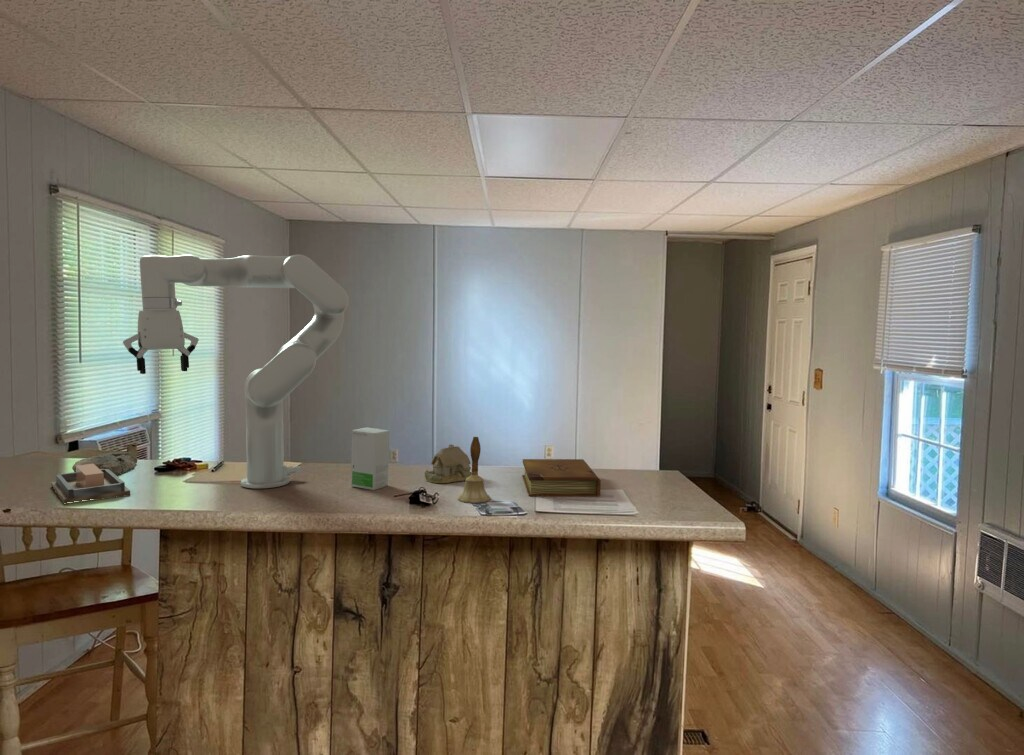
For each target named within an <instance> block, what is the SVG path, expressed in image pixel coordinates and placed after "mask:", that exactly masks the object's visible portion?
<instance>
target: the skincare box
mask: <svg viewBox="0 0 1024 755" xmlns="http://www.w3.org/2000/svg"><path fill="white" fill-rule="evenodd" d="M351 431H352V432H351V459H350V460H351V462H350V463H351V466H350V467H351V468H350V487H354V488H360V489H365V490H371V491H376V490H379V489H382V488H385V487H388V485H389V462H390V461H389V458H390V457H389V456H390V430H387V429H381V428H373V427H367V426H366V427H361V428H357V429H352V430H351Z"/></svg>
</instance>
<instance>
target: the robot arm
mask: <svg viewBox="0 0 1024 755" xmlns="http://www.w3.org/2000/svg"><path fill="white" fill-rule="evenodd" d="M139 272H140V274H139V275H140V287H141V290H140V291H141V299H142V300H141V302H142V310H139V311H138V316H137V333H136V334H134V335H132V336H130V337H128V338H126V339H124V340H123V341H122V344H123V346H124V347H125V349H126V350H127V351H128V353H130V354H131V355H132V356H133V357H135V359H136V369H137V371H138V372H139V374H142V375H144V374H146V373H147V371H146V369H147V368H146V359H145V357H144V355H145V354H146V353H147V352H148V351H160V350H162V351H163V350H178V352H180V353H181V355H180V357H179V358H180V371H182V372H188V369H190V361H189V360H190V359H189V357H190V355H191V353H192V352H194V350H195V349H196V347H197V344H198V342H199V338H198V337H196V336H194V335H191V334H189V333H186V332H185V330H184V326H183V322H182V321H183V320H182V316H181V313H180V310H178V307H180V306H182V305H183V301H182V300H179V299H177V297H176V286H175V285H176V284H183V285H185V286H189V287H225V288H226V287H232V288H233V287H234V288H235V287H236V288H248V289H249V288H256V289H257V288H259V289H261V288H262V289H263V288H265V289H269V288H270V289H271V288H272V289H273V288H274V289H275V288H276V289H277V288H278V289H296V290H297V291H298V292H299V293H300V294H301V295H303V296H304V297H305V298H306V299H307V300H308V301H310V303H311V304H312V306H313V310H314V314H313V317H312V319H311V321H310V322H309V323H307V325H306V326H304V327H303V329H302V330H300V331H299V332H298V333H297V334H296V335H295V336H294V337H292V338H291V339H290V340H289V341H287V343H285V344H283V345H282V346H281V347H280V349H278V352H277V353H276V355H275V356H274V357H273V358H272V359H271V360H270V361H268V362H267V363H266V364H265V365H264V366H263V367H262V368H261V367H260V368H257V369H254V370H253V371H252V372H250V373H249V375H248V376H247V377H246V379H245V381H244V405H245V443H246V444H245V445H246V451H245V452H246V477H244V478H243V479H241V480H240V486H241V487H243V488H247V489H260V490H262V489H273V488H278V487H282V486H286V485H288V484H289V483H290V481H291V480H290V476H291V474H294V475H296V474H300V473H301V472H302V468H301V466H300V465H298V466H287V465H285V463H284V462H285V461H284V407H283V406H284V405H283V404H284V403H283V400H284V399H285V398H286V397H288V396H289V395H290V394H291V393H292V392H293V391H295V389H296V388H297V387H298V386H299V385H301V384H302V383H303V382H304V381H305V380H306V379H307V378H308V377H309V376H310V375H311V374H312V373H313V371H314V369H315V367H316V364H317V360H318V359H319V358H320V357H321V356H323V354H324V353H325V352H326V351H327V350H328V349H329V348H331V347H332V345H333V344H334V343H335V342H336V341H337V339H338V338H339V337H340V335H341V333H342V330H343V327H344V321H345V311H346V310H347V309H348V306H349V302H350V301H349V296H348V293H347V292H346V290H345V288H343V286H341V285H340V284H339V283H338V282H337V281H335V280H334V279H333V278H332V276H330V275H329V274H328V273H327V272H326V271H324V270H323V269H322V268H321V266H319V265H318V264H317V263H316V262H315V261H314V260H312V259H311V258H310V257H308V256H307V255H303V254H293V255H290V256H287V255H286V256H285V255H283V256H282V255H281V256H280V255H279V256H278V255H276V256H275V255H255V254H253V255H251V254H250V255H249V254H248V255H241V256H237V257H231V258H230V257H228V258H203V257H202V258H201V257H199V256H196V255H194V254H180V255H171V256H170V255H169V256H167V255H158V254H153V255H152V254H149V255H147V254H146V255H143V256H142V257H140V259H139ZM185 340H188V341H190V343H189V345H188V346H187V348H186V347H185V344H186V342H185ZM136 341H137V346H138V348H139V349H138V350H136V349H135V348H134V347H133V345H132V343H134V342H136Z"/></svg>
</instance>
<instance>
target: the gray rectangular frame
mask: <svg viewBox="0 0 1024 755" xmlns="http://www.w3.org/2000/svg"><path fill="white" fill-rule="evenodd" d="M100 470H101V471H102V472H103V473H104V485H102V486H94V487H87V488H81V487H80V486H79V485H78V483H77V482H76V472H74V471H73V472H65V473H60V474H56V475H55V479H56V481H51V483H50V484H51V485H50V486H51V488H52V487H53V488H52V490H53V489H54V490H55V491H56V492H55V491H54V490H53V491H54V492H55V494H56V493H57V494H58V495H59V496H58V495H57V494H56V495H57V496H58V498H59V497H60V498H61V499H62V501H63V502H64V503H67V502H74V501H82V500H90V499H100V500H103V499H102V498H107V499H110V498H109V497H114V498H117V497H116V496H121V497H125V496H124V495H128V496H131V490H130V489H129V488H128V486H125V485H126V484H125V482H124V480H122V479H121V478H120V477H119V476H118V475H115V474H114V473H113V472H111V471H110V470H109V469H100ZM60 498H59V499H60ZM61 499H60V500H61ZM62 501H61V502H62ZM63 502H62V503H63ZM64 503H63V504H64Z"/></svg>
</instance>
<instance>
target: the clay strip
mask: <svg viewBox="0 0 1024 755" xmlns="http://www.w3.org/2000/svg"><path fill="white" fill-rule="evenodd" d="M76 482H77V483H78V485H79V486H80V487H81V488H87V487H94V486H102V485H104V473H103V472H102V471H101V470H100V469H99V468H98V467H97V466H96V465H94V464H86V465H77V466H76Z"/></svg>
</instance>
